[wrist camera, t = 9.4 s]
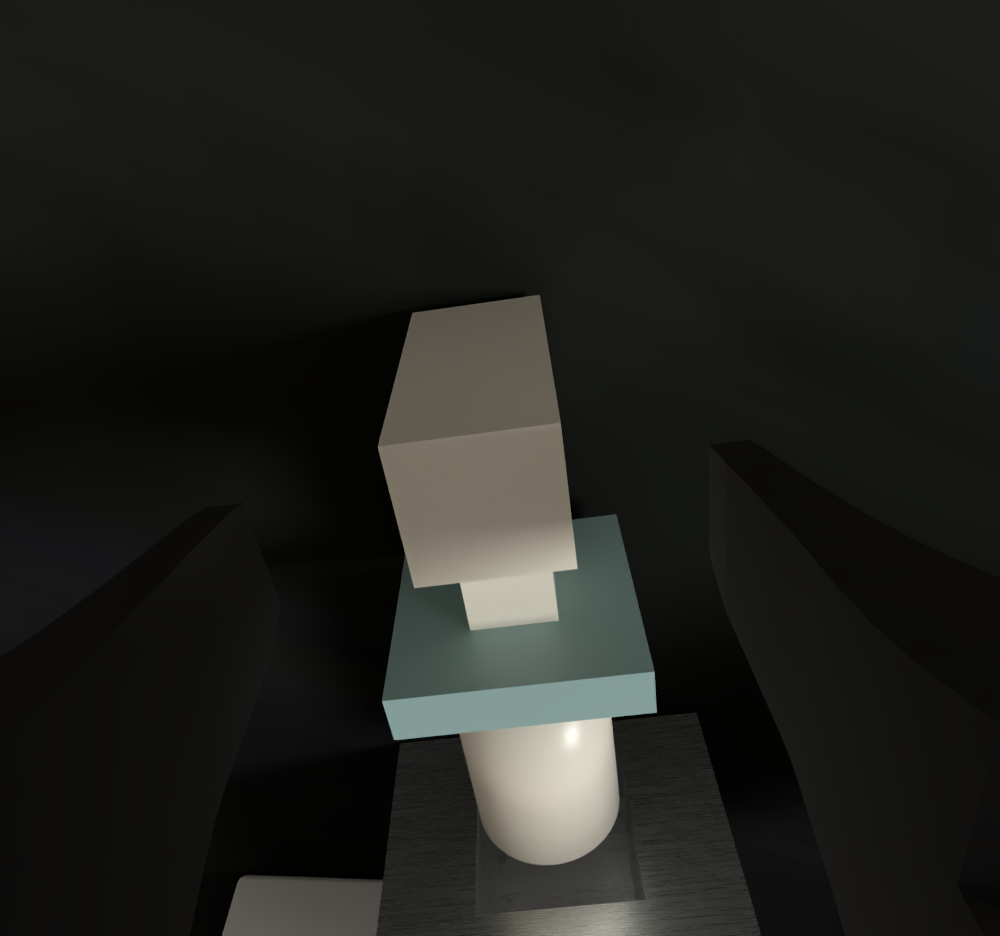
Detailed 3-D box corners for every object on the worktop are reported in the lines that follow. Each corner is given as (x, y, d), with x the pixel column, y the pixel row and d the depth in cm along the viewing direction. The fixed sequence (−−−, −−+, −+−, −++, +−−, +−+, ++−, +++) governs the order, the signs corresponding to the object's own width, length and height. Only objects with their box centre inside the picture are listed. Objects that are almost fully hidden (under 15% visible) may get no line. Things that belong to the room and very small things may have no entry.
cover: (595, 286, 18) (641, 412, 12) (628, 695, 25) (668, 892, 19) (358, 320, 18) (300, 457, 13) (456, 713, 25) (445, 912, 20)
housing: (696, 712, 26) (761, 937, 19) (699, 870, 30) (752, 1093, 24) (400, 743, 26) (371, 970, 20) (447, 893, 31) (435, 1116, 25)
